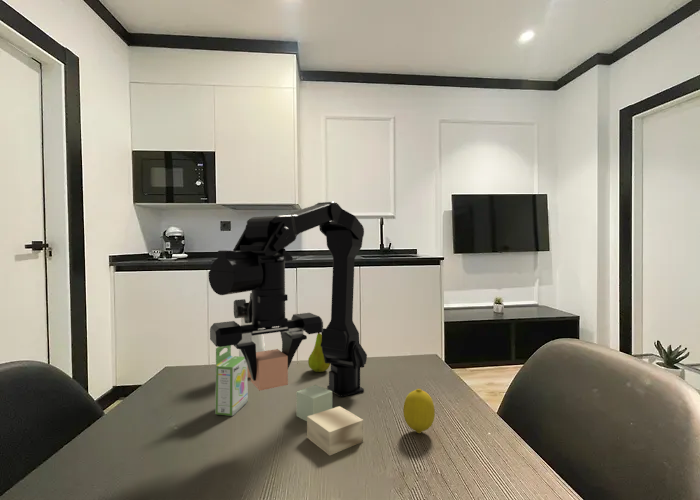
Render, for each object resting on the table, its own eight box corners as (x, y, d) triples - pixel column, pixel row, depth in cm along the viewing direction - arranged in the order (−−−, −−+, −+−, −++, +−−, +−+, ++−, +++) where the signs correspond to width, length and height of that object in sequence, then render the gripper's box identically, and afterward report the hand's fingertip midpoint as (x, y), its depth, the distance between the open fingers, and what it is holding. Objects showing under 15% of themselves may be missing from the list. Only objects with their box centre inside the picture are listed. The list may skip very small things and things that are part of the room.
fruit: (315, 366, 105) (315, 323, 105) (335, 369, 102) (335, 325, 102) (303, 373, 99) (303, 328, 99) (324, 376, 96) (324, 330, 96)
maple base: (339, 427, 70) (339, 406, 70) (363, 443, 65) (363, 420, 64) (307, 439, 66) (307, 416, 66) (329, 456, 60) (329, 432, 60)
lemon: (416, 443, 64) (416, 397, 64) (397, 429, 69) (397, 386, 69) (441, 436, 66) (441, 391, 66) (421, 423, 71) (421, 381, 71)
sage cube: (315, 408, 78) (315, 384, 78) (332, 416, 74) (332, 391, 74) (296, 416, 74) (296, 391, 74) (313, 424, 71) (313, 398, 71)
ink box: (233, 416, 74) (233, 349, 74) (214, 415, 74) (214, 348, 74) (248, 402, 81) (248, 340, 81) (230, 401, 81) (230, 339, 81)
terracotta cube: (277, 375, 69) (277, 348, 69) (287, 384, 65) (287, 356, 65) (250, 381, 66) (250, 353, 66) (259, 390, 62) (259, 360, 62)
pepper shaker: (238, 369, 102) (238, 299, 101) (265, 367, 103) (265, 298, 103) (236, 379, 95) (236, 303, 94) (266, 376, 96) (266, 302, 96)
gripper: (299, 281, 77) (300, 356, 77) (203, 287, 67) (204, 373, 68) (324, 286, 67) (324, 372, 68) (216, 294, 58) (217, 394, 58)
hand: (269, 376), depth 66 cm, fingers closed on terracotta cube, 5 cm apart
